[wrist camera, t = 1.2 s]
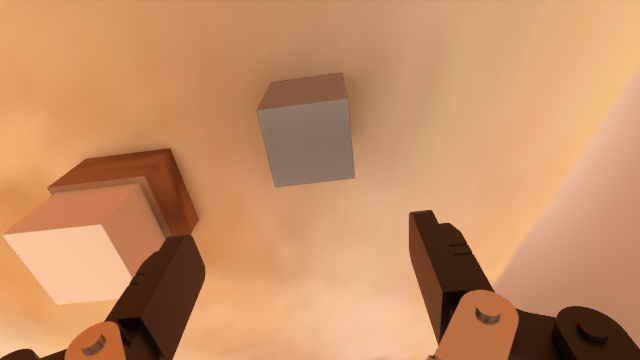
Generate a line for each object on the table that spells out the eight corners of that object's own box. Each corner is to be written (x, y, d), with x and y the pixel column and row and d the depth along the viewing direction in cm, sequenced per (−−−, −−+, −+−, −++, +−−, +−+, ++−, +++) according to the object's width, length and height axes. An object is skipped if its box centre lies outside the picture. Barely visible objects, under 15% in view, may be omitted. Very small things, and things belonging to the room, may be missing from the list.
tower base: (87, 158, 27) (47, 187, 23) (170, 147, 26) (144, 176, 22) (124, 226, 30) (95, 262, 26) (199, 218, 30) (180, 253, 26)
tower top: (55, 192, 23) (1, 234, 19) (138, 183, 22) (101, 224, 19) (96, 256, 26) (57, 304, 22) (170, 249, 25) (143, 296, 22)
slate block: (271, 82, 23) (256, 110, 18) (341, 72, 23) (347, 98, 18) (284, 146, 26) (274, 187, 21) (348, 138, 25) (355, 178, 20)
